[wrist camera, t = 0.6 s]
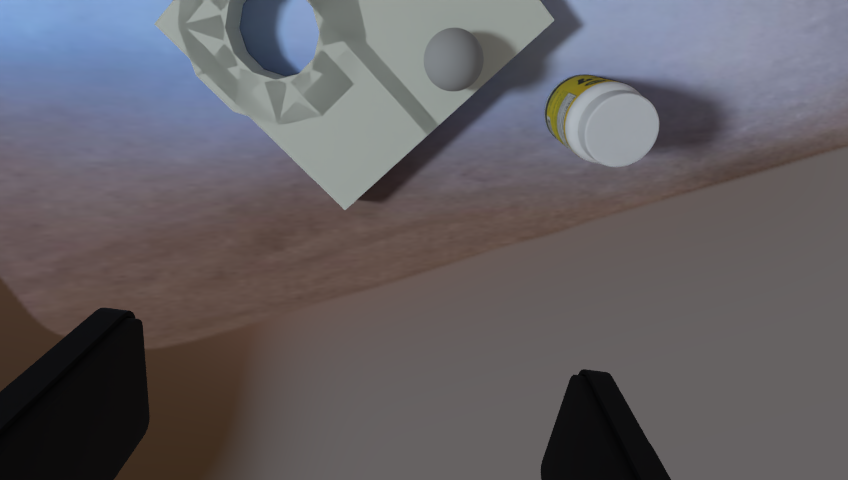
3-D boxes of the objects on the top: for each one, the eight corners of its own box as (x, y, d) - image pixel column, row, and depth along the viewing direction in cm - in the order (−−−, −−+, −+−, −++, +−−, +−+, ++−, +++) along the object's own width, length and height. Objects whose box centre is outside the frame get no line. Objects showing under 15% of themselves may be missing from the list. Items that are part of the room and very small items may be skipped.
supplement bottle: (622, 83, 33) (684, 98, 25) (596, 150, 35) (646, 183, 27) (556, 65, 33) (597, 75, 25) (533, 134, 34) (565, 163, 27)
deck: (365, -223, 27) (360, -248, 24) (544, 21, 32) (554, 20, 29) (162, 24, 32) (142, 23, 29) (345, 203, 36) (340, 214, 34)
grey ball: (454, 14, 29) (458, 12, 26) (491, 60, 30) (499, 64, 27) (412, 56, 30) (410, 59, 27) (449, 100, 31) (452, 107, 28)
